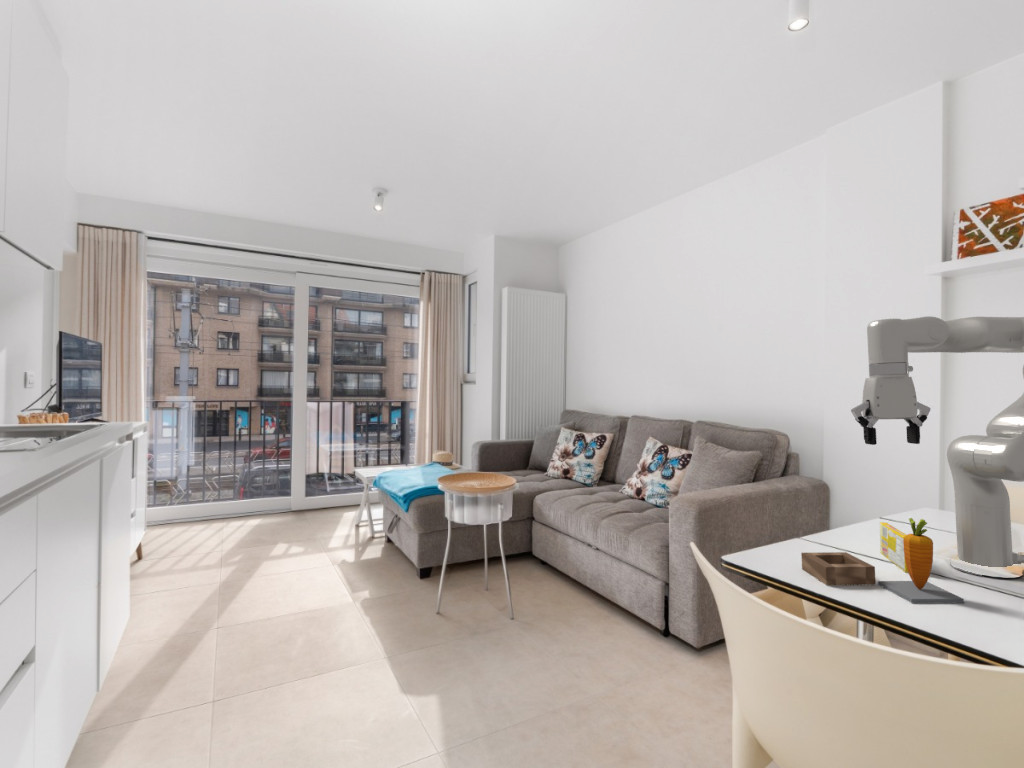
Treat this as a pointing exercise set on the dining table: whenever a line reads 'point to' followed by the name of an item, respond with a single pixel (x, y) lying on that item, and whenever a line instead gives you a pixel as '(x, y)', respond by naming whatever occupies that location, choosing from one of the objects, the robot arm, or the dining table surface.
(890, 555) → the candy box
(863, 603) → the dining table surface
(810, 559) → the walnut collar
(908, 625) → the dining table surface
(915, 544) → the carrot
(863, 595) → the dining table surface
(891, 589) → the rubber mat
